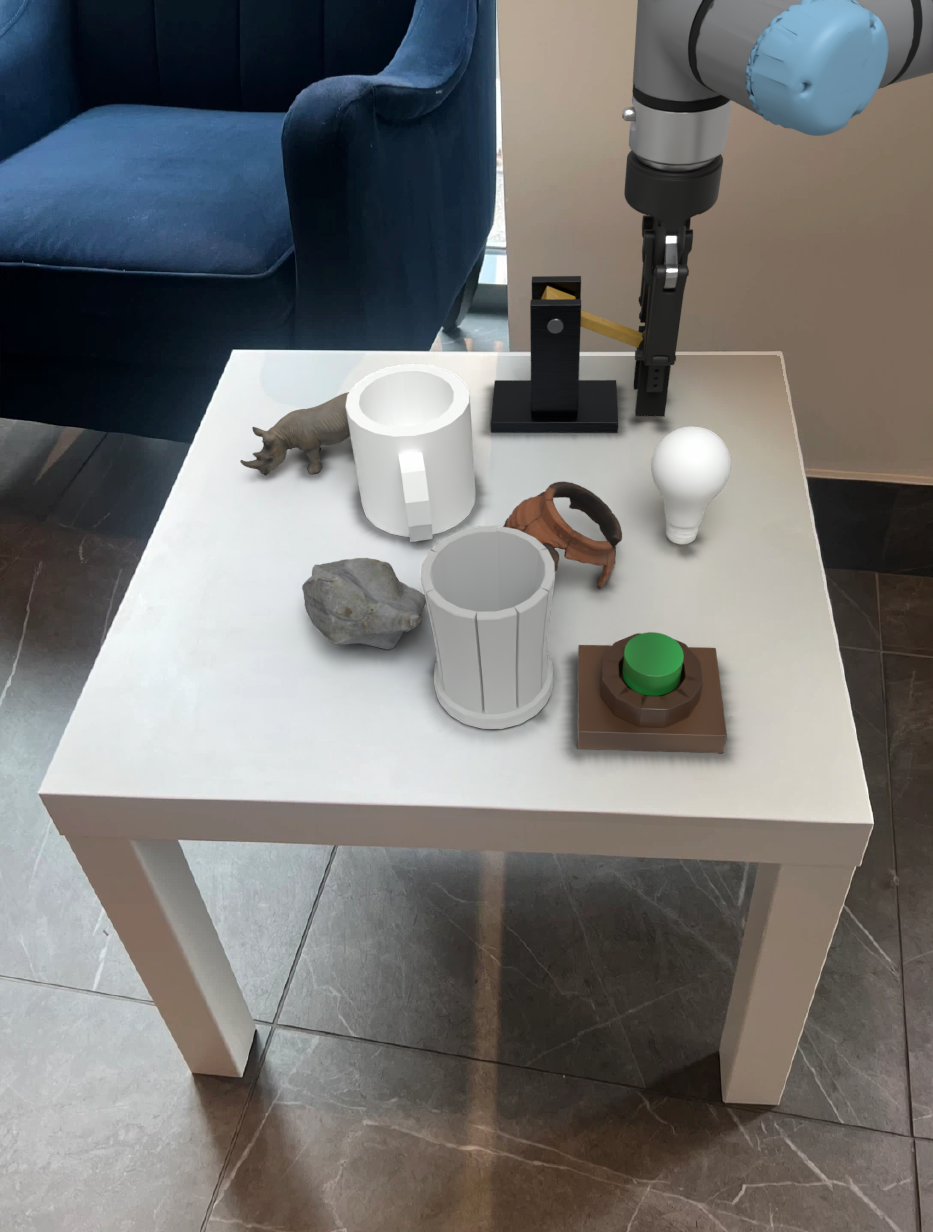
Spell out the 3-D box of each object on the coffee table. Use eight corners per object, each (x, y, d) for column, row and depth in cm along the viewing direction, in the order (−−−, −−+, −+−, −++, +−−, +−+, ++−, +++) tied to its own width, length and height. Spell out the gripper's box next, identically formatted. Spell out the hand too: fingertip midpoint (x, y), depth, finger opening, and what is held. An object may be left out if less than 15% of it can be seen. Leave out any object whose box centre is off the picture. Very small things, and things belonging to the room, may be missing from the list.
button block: (712, 665, 75) (719, 628, 72) (723, 753, 69) (731, 718, 66) (577, 662, 76) (579, 626, 73) (577, 748, 70) (579, 714, 67)
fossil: (462, 622, 79) (456, 547, 73) (401, 702, 74) (389, 629, 68) (347, 576, 83) (332, 503, 78) (281, 649, 78) (260, 577, 72)
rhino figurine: (239, 474, 94) (224, 421, 89) (373, 427, 97) (365, 373, 93) (254, 498, 91) (239, 445, 87) (391, 449, 95) (383, 395, 90)
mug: (490, 554, 84) (485, 453, 77) (369, 571, 84) (351, 470, 76) (467, 456, 94) (461, 356, 86) (358, 470, 93) (342, 371, 85)
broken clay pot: (505, 525, 87) (554, 456, 82) (592, 590, 87) (647, 525, 82) (451, 590, 78) (502, 516, 73) (548, 663, 78) (607, 594, 73)
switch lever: (663, 357, 95) (682, 326, 92) (665, 379, 92) (685, 347, 90) (534, 309, 92) (549, 275, 89) (532, 330, 89) (549, 296, 87)
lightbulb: (665, 507, 87) (677, 401, 79) (730, 533, 85) (749, 426, 76) (630, 548, 84) (639, 442, 76) (696, 576, 81) (713, 468, 73)
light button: (678, 652, 71) (681, 632, 70) (682, 697, 68) (685, 677, 67) (621, 651, 72) (623, 631, 70) (623, 695, 69) (625, 675, 67)
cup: (393, 698, 74) (373, 583, 66) (453, 617, 80) (442, 501, 71) (519, 750, 70) (517, 636, 62) (574, 662, 76) (578, 545, 67)
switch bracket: (615, 390, 100) (623, 269, 90) (617, 432, 95) (626, 310, 85) (495, 390, 101) (490, 271, 91) (490, 432, 96) (485, 311, 87)
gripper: (623, 110, 85) (607, 351, 102) (631, 199, 74) (611, 454, 91) (714, 108, 84) (682, 352, 101) (735, 198, 73) (695, 455, 90)
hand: (648, 400), depth 96 cm, fingers closed on switch lever, 4 cm apart
